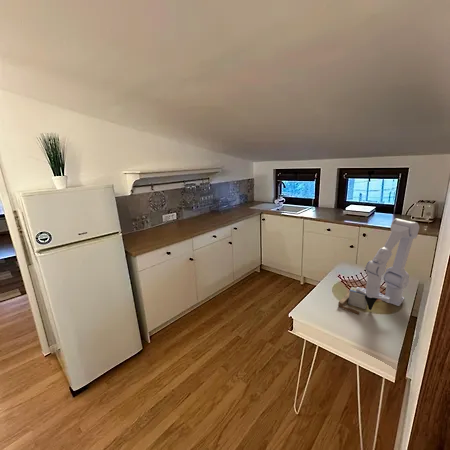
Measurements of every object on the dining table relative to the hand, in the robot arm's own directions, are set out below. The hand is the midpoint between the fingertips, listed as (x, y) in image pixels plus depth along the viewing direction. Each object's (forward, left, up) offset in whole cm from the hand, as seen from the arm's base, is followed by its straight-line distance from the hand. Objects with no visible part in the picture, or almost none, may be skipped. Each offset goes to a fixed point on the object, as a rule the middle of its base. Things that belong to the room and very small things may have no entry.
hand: (370, 308), depth 127 cm
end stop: (0, -8, -1) cm, 8 cm away
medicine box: (-1, -6, -2) cm, 7 cm away
